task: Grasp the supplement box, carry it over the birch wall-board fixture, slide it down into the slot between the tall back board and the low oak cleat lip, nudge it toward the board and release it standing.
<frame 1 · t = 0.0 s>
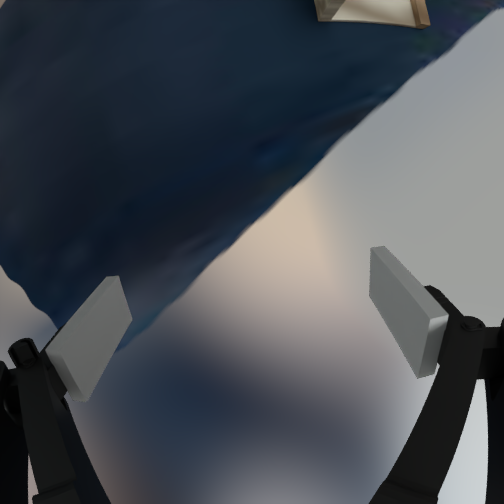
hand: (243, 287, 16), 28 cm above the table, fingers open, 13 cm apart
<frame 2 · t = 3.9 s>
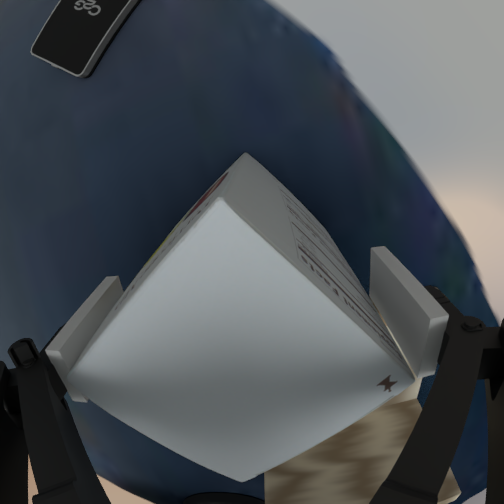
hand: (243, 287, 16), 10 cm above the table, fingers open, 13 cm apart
supplement box: (246, 234, 25), on the table
external hard drive: (98, 15, 19), on the table
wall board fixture: (345, 369, 30), on the table
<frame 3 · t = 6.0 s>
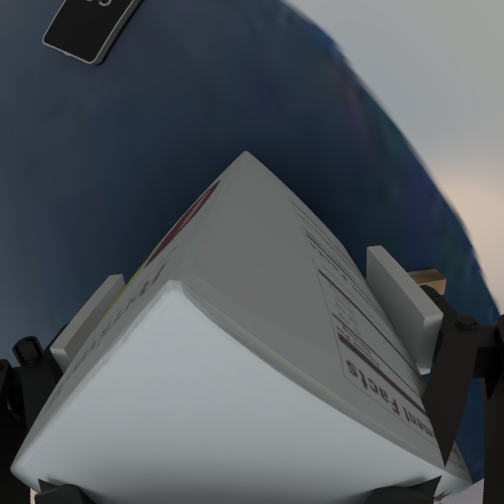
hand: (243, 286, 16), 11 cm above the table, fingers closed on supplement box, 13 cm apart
supplement box: (246, 251, 21), point 6 cm above the table, touching gripper
external hard drive: (108, 5, 19), on the table
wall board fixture: (347, 347, 31), on the table
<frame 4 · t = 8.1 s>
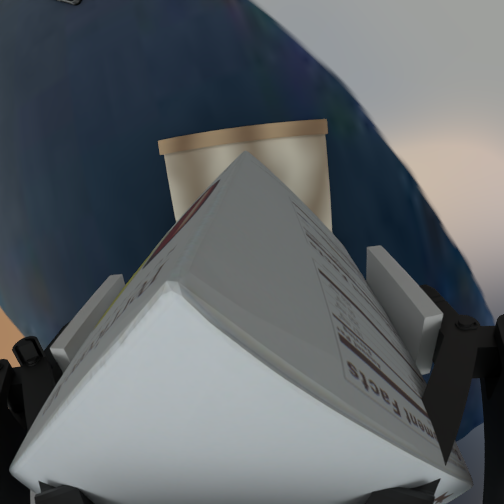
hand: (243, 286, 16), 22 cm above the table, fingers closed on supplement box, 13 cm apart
supplement box: (246, 251, 21), point 17 cm above the table, touching gripper
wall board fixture: (250, 196, 37), on the table
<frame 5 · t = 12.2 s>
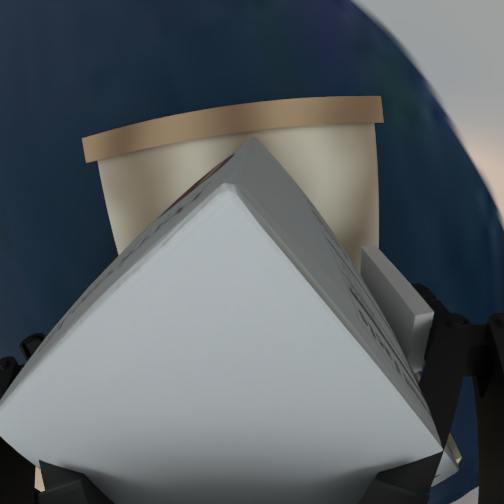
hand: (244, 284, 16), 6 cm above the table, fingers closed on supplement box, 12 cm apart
supplement box: (243, 235, 21), point 1 cm above the table, touching gripper, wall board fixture
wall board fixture: (244, 230, 22), on the table
when the fingers open (6 cm above the table, at t = 12.4 s): supplement box stays where it is, resting on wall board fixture.
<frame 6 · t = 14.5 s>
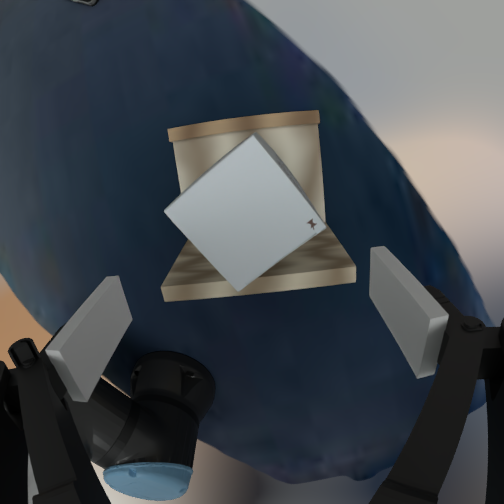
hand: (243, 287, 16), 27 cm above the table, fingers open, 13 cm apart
supplement box: (250, 181, 40), point 1 cm above the table, touching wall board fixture
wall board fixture: (250, 179, 40), on the table
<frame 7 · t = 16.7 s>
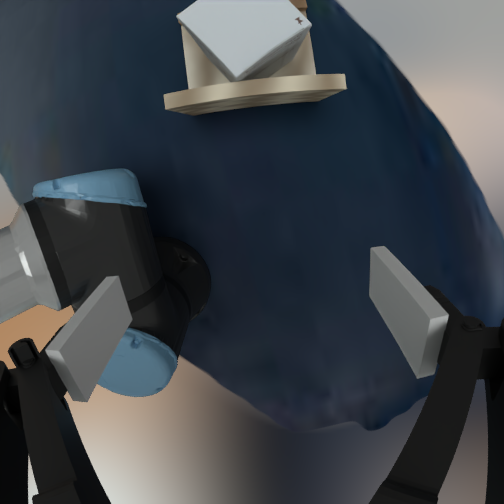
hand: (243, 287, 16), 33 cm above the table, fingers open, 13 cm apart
supplement box: (248, 55, 39), point 1 cm above the table, touching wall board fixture
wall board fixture: (248, 54, 40), on the table
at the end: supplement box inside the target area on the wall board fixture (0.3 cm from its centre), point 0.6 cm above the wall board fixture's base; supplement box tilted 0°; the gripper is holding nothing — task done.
